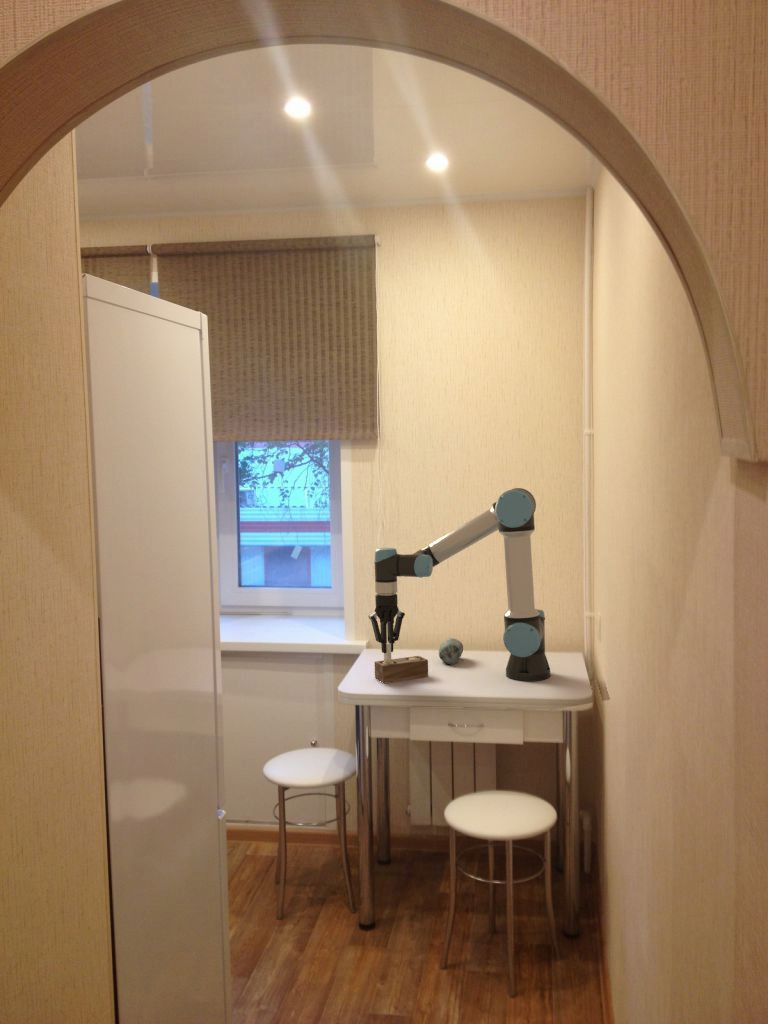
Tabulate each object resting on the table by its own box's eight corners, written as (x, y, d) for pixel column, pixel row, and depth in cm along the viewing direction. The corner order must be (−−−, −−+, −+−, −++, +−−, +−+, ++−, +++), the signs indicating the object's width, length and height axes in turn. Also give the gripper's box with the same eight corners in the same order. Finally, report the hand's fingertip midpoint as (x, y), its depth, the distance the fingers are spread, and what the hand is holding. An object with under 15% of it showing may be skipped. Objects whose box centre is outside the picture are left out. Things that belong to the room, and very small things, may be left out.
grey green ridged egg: (464, 657, 321) (452, 632, 324) (441, 669, 323) (429, 644, 326) (472, 658, 334) (460, 634, 337) (449, 669, 336) (438, 645, 339)
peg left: (396, 677, 305) (395, 663, 305) (385, 679, 304) (385, 664, 303) (391, 674, 309) (390, 660, 309) (380, 676, 307) (380, 662, 307)
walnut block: (428, 676, 309) (427, 659, 308) (383, 683, 302) (383, 665, 301) (419, 672, 315) (418, 655, 315) (375, 678, 308) (374, 661, 308)
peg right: (422, 673, 310) (422, 659, 309) (412, 675, 308) (411, 660, 307) (417, 671, 313) (416, 657, 313) (406, 672, 311) (406, 658, 311)
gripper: (398, 590, 310) (400, 657, 312) (364, 593, 305) (365, 661, 307) (408, 593, 304) (409, 661, 305) (373, 596, 298) (374, 666, 300)
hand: (387, 661), depth 306 cm, fingers closed
